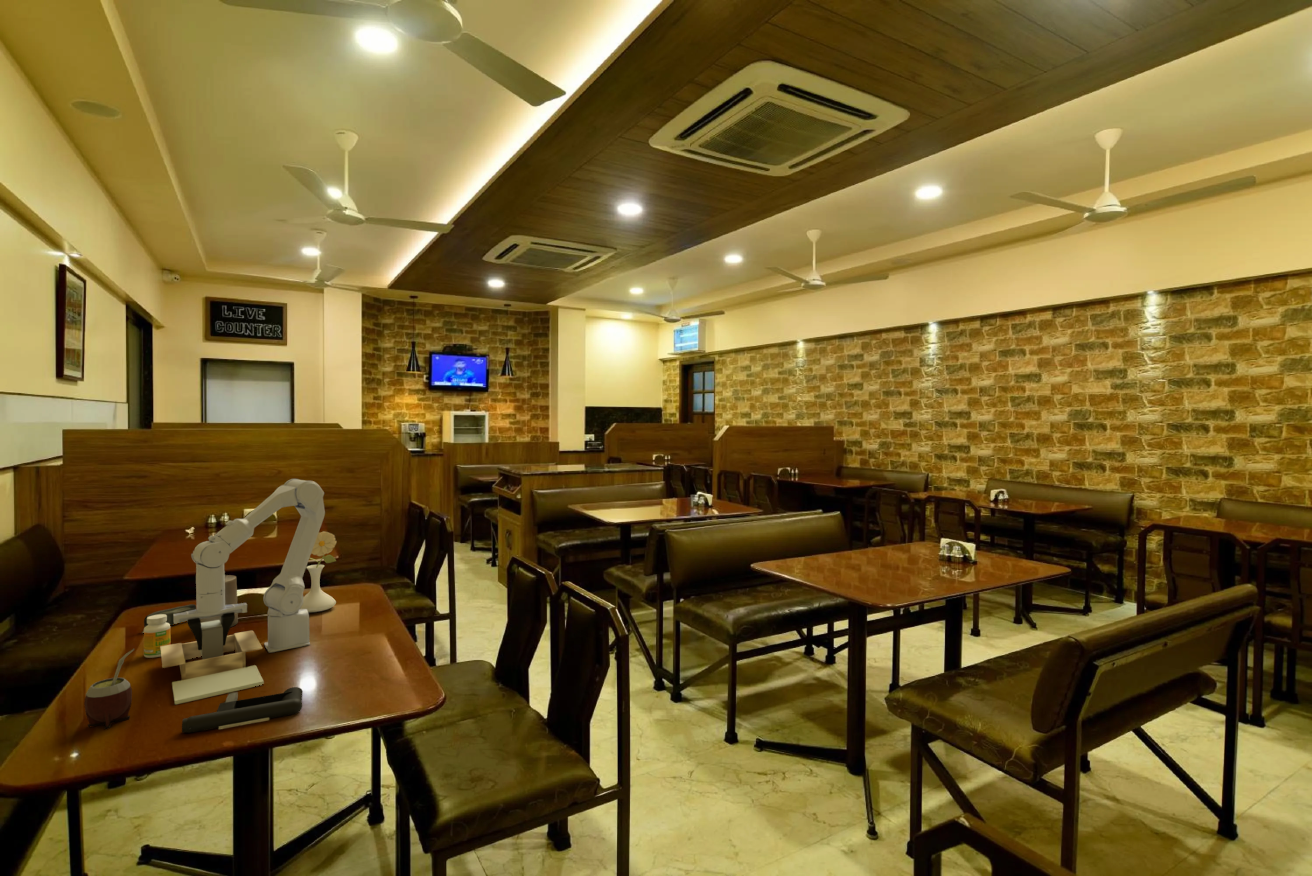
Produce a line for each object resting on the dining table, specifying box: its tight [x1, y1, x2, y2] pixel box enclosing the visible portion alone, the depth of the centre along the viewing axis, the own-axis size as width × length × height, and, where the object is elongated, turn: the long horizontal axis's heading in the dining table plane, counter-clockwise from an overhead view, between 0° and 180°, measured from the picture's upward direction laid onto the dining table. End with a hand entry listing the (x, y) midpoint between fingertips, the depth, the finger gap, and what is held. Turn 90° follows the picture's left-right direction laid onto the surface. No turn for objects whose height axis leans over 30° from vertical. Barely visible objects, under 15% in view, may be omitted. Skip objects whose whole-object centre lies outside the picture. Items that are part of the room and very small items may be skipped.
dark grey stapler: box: [141, 603, 197, 634], centre depth 183 cm, size 5×3×15 cm
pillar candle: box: [200, 574, 239, 628], centre depth 183 cm, size 10×10×15 cm
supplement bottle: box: [143, 614, 172, 659], centre depth 161 cm, size 5×5×10 cm
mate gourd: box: [83, 648, 135, 730], centre depth 125 cm, size 8×8×15 cm
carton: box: [160, 630, 263, 680], centre depth 154 cm, size 19×16×4 cm
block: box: [200, 620, 224, 660], centre depth 154 cm, size 4×8×7 cm, turn 40°
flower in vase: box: [299, 531, 337, 613], centre depth 198 cm, size 13×11×25 cm
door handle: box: [181, 686, 303, 734], centre depth 130 cm, size 3×20×16 cm
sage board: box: [171, 664, 265, 705], centre depth 143 cm, size 16×12×1 cm
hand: (211, 646), depth 154 cm, fingers closed on block, 4 cm apart
